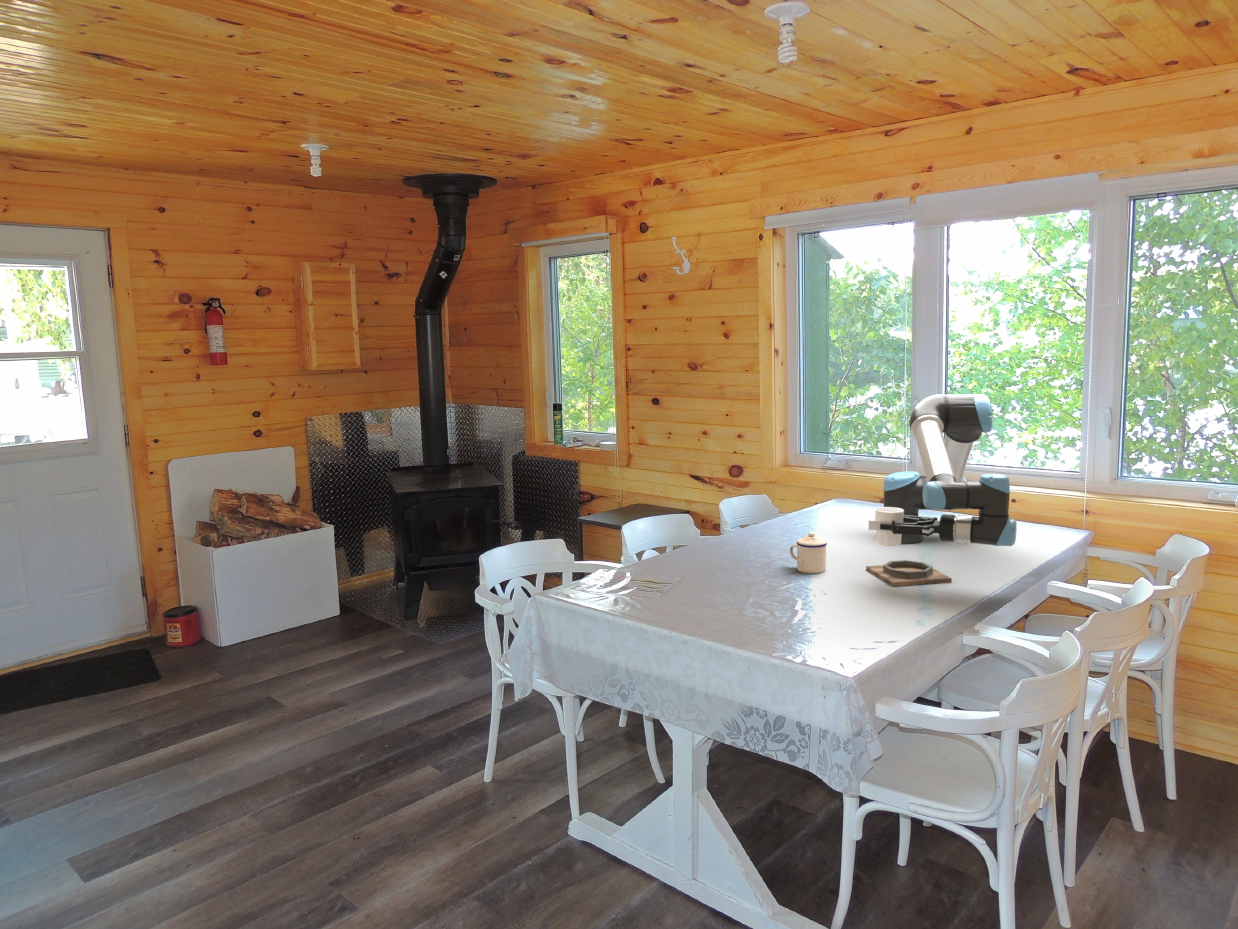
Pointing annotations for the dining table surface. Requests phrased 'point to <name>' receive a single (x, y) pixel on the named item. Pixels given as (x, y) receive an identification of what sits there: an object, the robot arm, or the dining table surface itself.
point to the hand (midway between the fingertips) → (872, 521)
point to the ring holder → (907, 573)
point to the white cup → (888, 515)
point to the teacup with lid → (810, 554)
